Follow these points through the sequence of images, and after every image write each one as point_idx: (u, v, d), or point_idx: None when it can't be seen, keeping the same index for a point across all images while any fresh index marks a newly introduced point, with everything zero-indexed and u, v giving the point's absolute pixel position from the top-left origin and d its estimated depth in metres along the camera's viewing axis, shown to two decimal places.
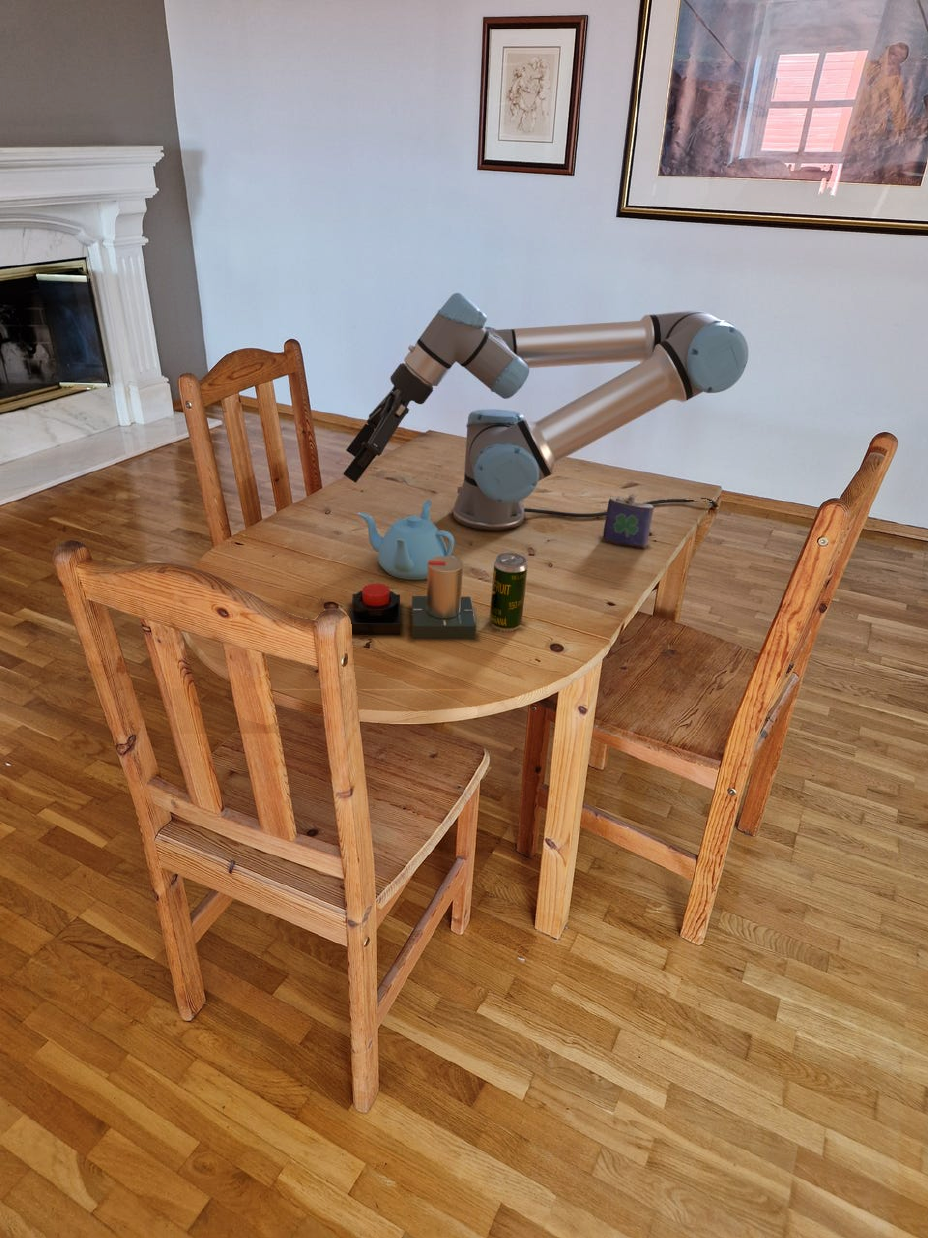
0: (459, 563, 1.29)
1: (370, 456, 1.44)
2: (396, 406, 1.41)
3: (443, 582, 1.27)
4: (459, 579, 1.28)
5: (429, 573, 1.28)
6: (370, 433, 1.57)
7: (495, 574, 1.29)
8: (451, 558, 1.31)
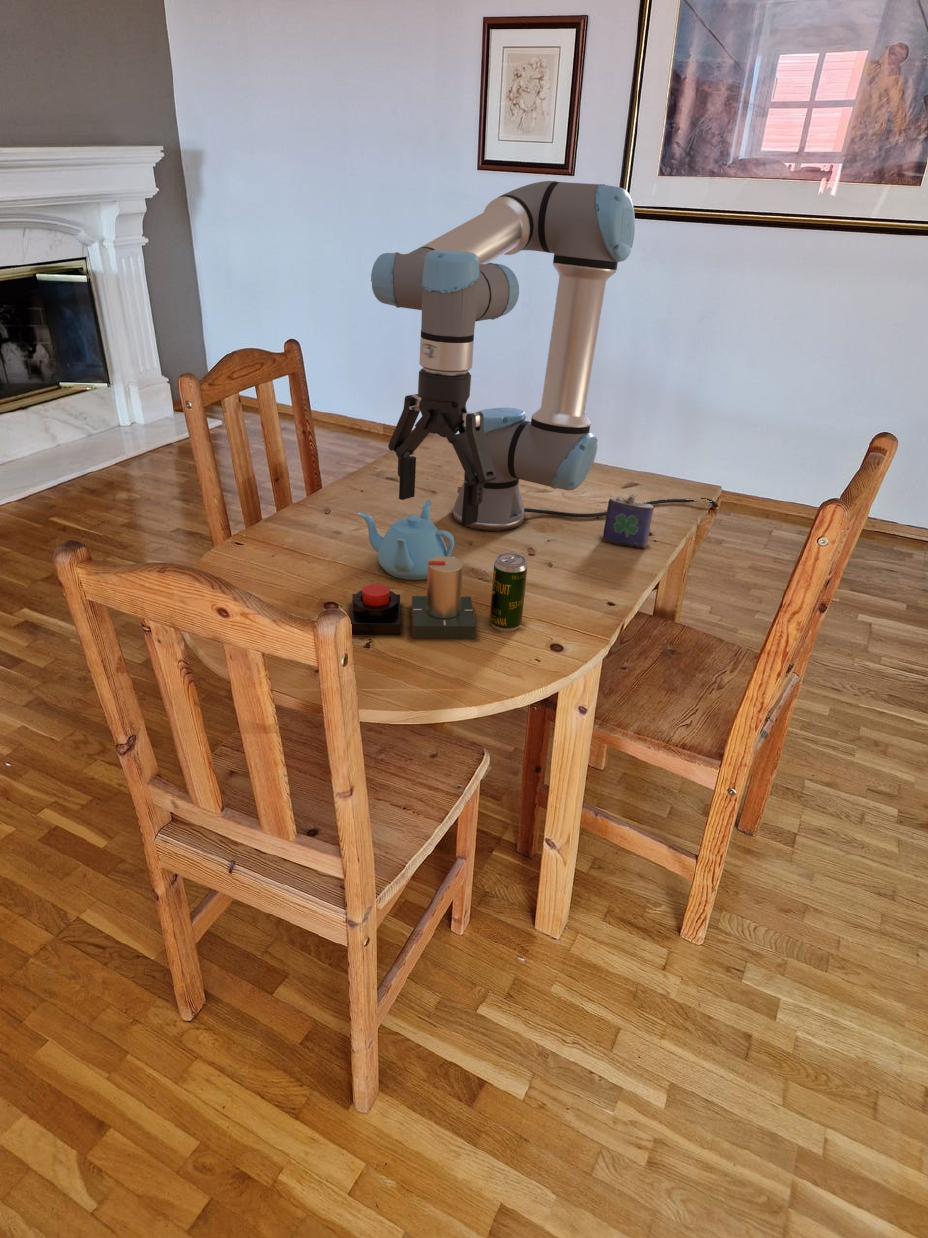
0: (459, 563, 1.29)
1: (482, 487, 1.18)
2: (473, 420, 1.14)
3: (443, 582, 1.27)
4: (459, 579, 1.28)
5: (429, 573, 1.28)
6: (412, 463, 1.27)
7: (495, 574, 1.29)
8: (451, 558, 1.31)
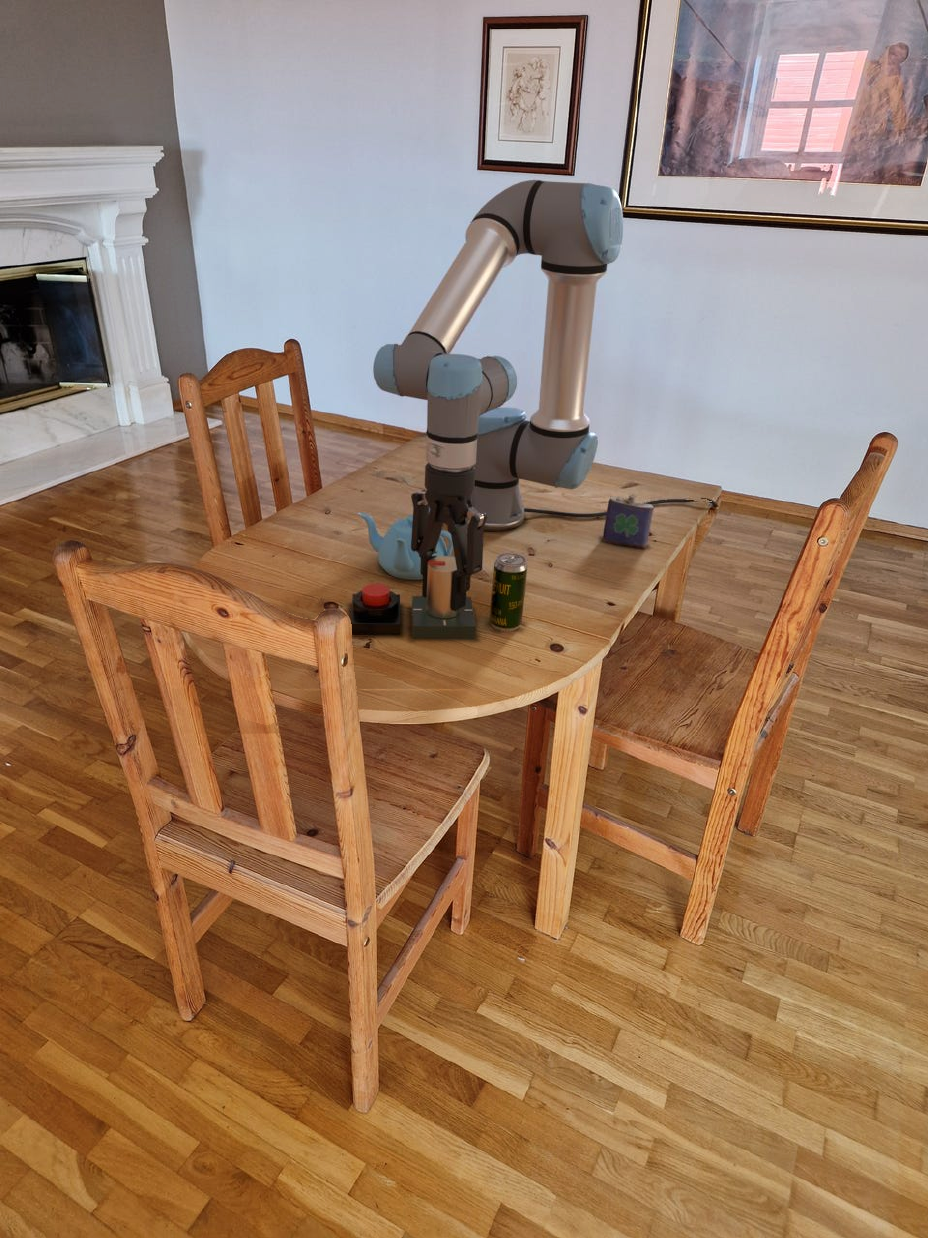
0: None
1: (469, 577, 1.27)
2: (477, 523, 1.20)
3: (443, 582, 1.27)
4: None
5: (429, 573, 1.28)
6: None
7: (495, 574, 1.29)
8: (451, 558, 1.31)
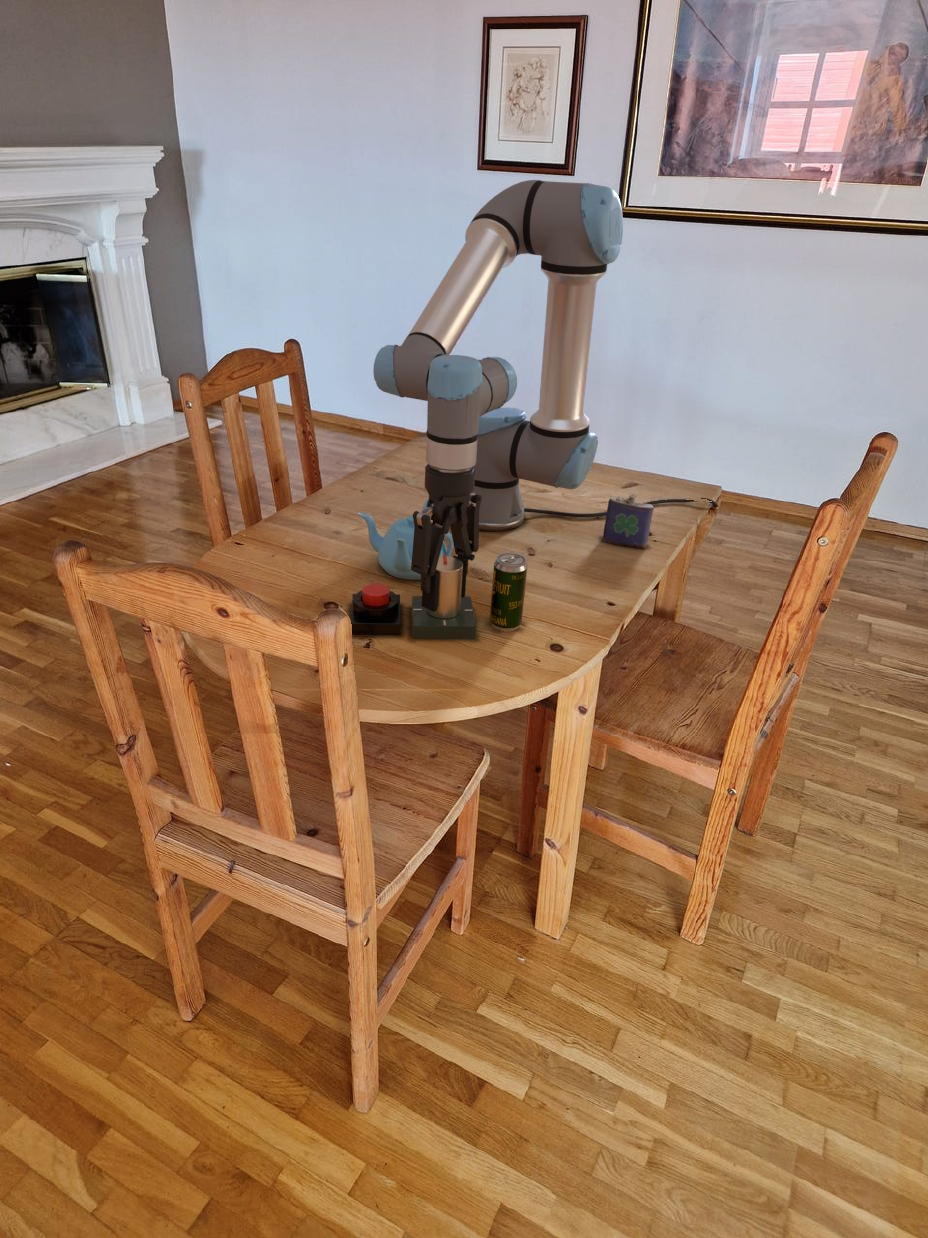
0: (446, 569, 1.27)
1: (426, 579, 1.26)
2: (414, 518, 1.20)
3: None
4: None
5: None
6: None
7: (495, 574, 1.29)
8: (457, 566, 1.28)
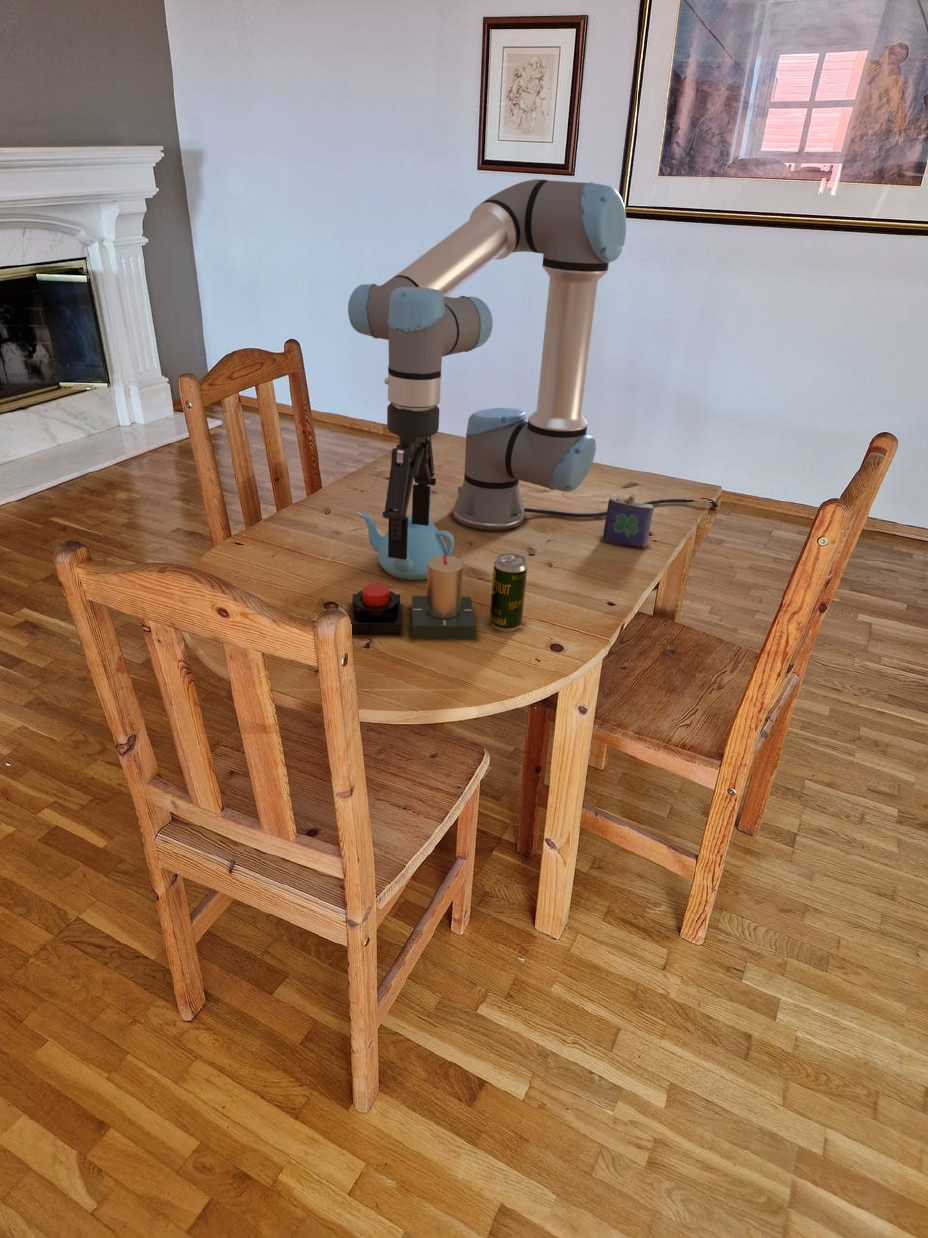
0: (446, 569, 1.27)
1: (398, 524, 1.17)
2: (393, 455, 1.13)
3: None
4: (434, 580, 1.28)
5: None
6: (424, 492, 1.29)
7: (495, 574, 1.29)
8: (457, 566, 1.28)
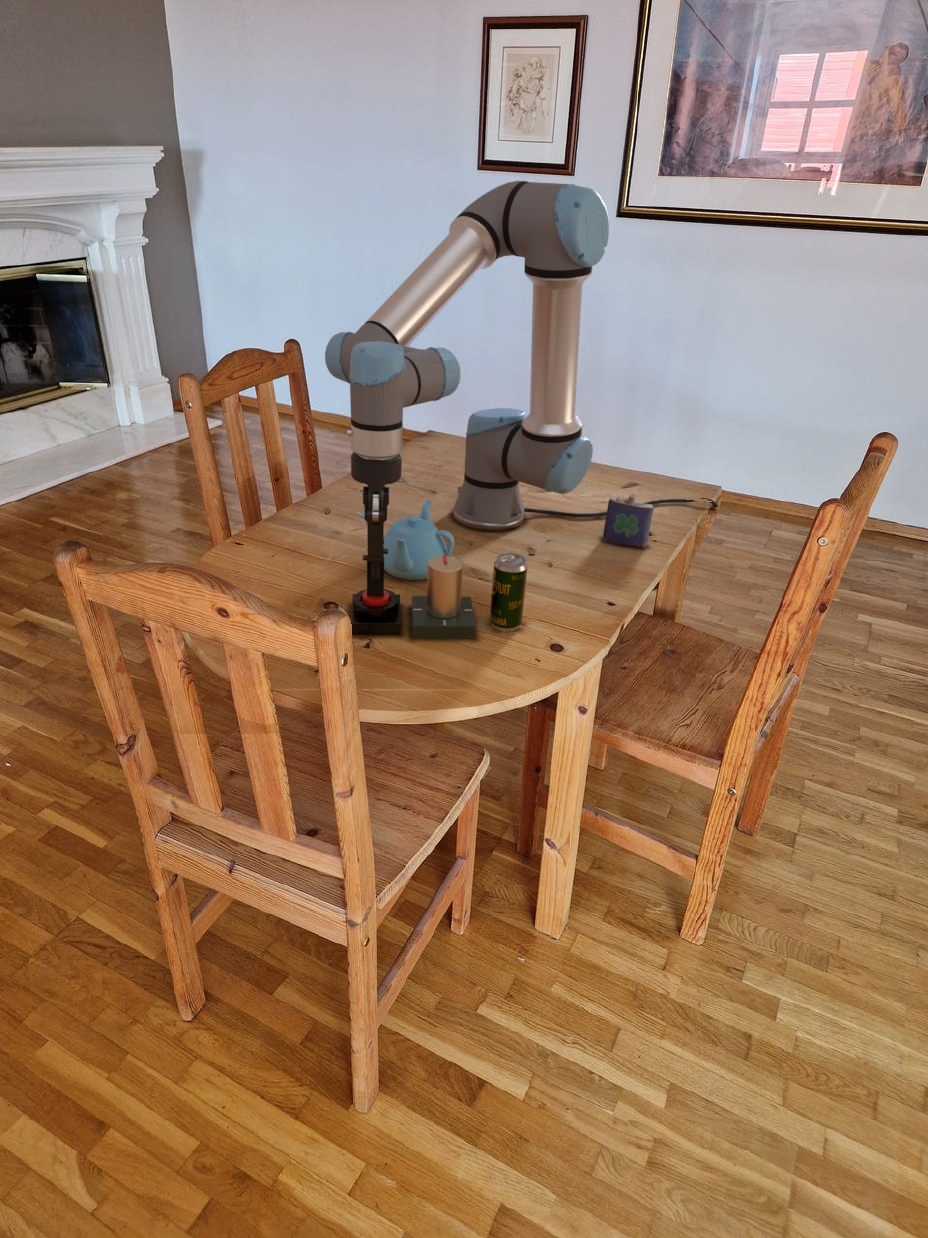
0: (446, 569, 1.27)
1: (378, 565, 1.27)
2: (368, 519, 1.19)
3: None
4: (434, 580, 1.28)
5: None
6: None
7: (495, 574, 1.29)
8: (457, 566, 1.28)
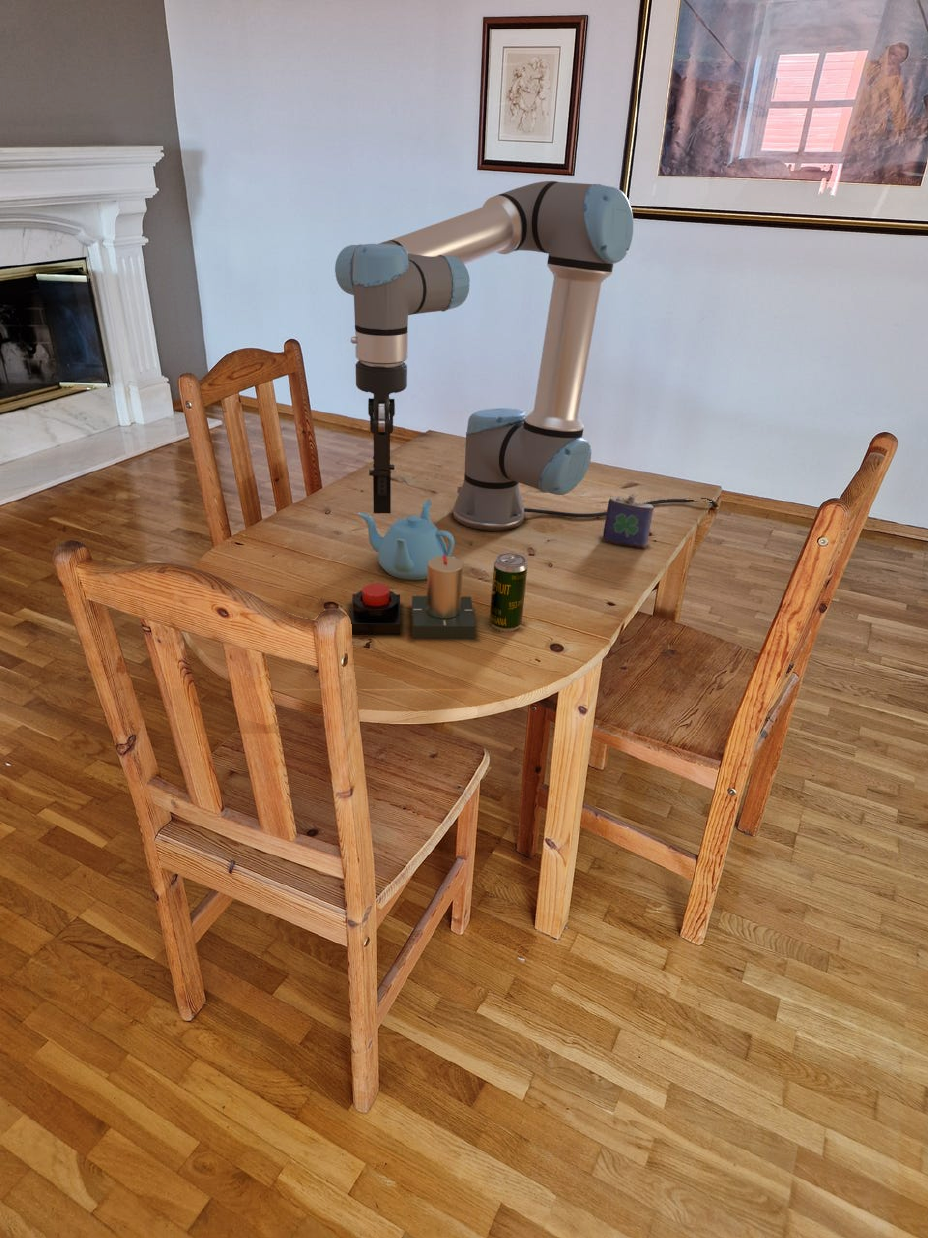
0: (446, 569, 1.27)
1: (384, 480, 1.25)
2: (375, 428, 1.17)
3: None
4: (434, 580, 1.28)
5: None
6: None
7: (495, 574, 1.29)
8: (457, 566, 1.28)
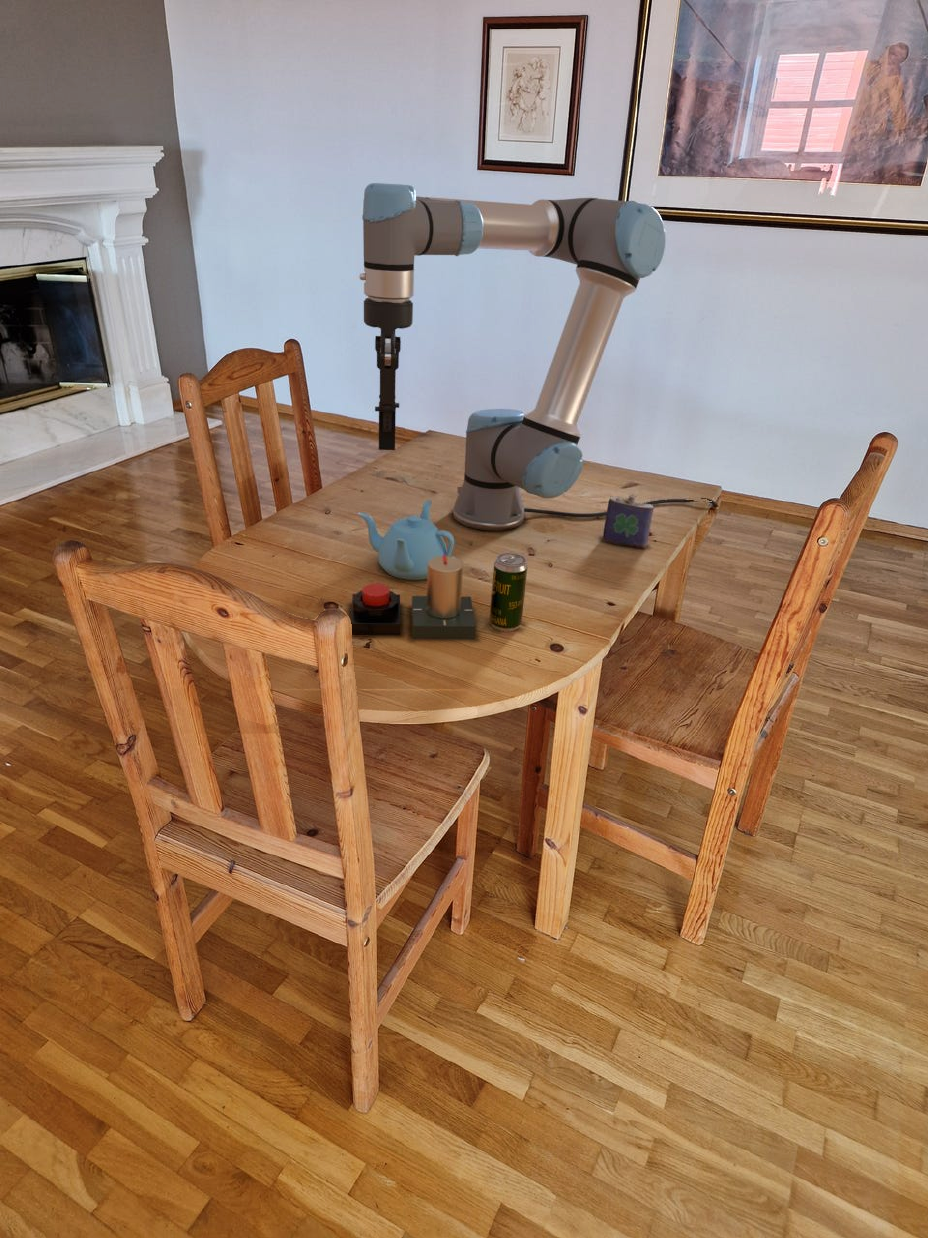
0: (446, 569, 1.27)
1: (389, 416, 1.31)
2: (381, 361, 1.22)
3: None
4: (434, 580, 1.28)
5: None
6: None
7: (495, 574, 1.29)
8: (457, 566, 1.28)
